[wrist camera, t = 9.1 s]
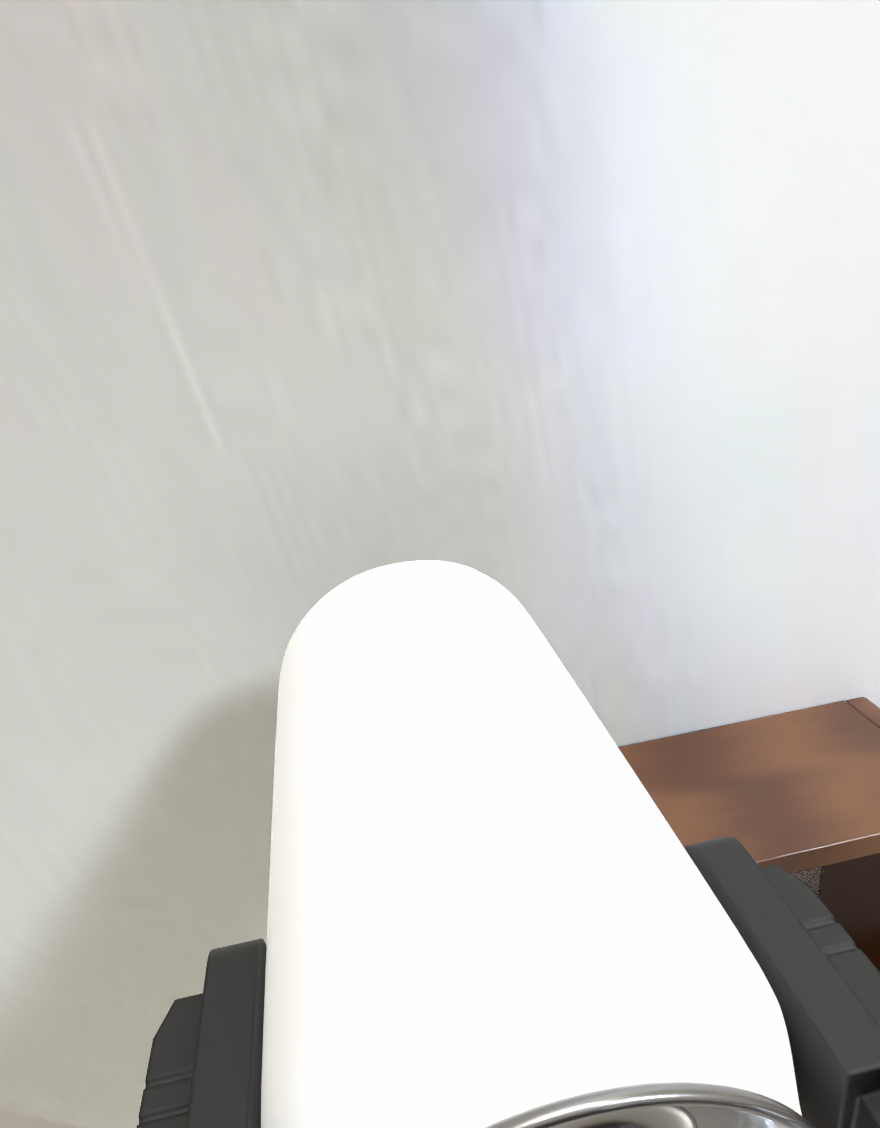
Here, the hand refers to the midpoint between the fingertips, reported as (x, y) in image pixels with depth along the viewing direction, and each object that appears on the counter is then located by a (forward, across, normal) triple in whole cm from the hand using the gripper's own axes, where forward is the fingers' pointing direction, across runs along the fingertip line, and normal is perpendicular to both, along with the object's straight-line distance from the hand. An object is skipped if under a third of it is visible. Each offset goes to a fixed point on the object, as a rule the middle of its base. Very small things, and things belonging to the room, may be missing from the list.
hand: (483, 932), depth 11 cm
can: (+8, 0, 0) cm, 8 cm away
